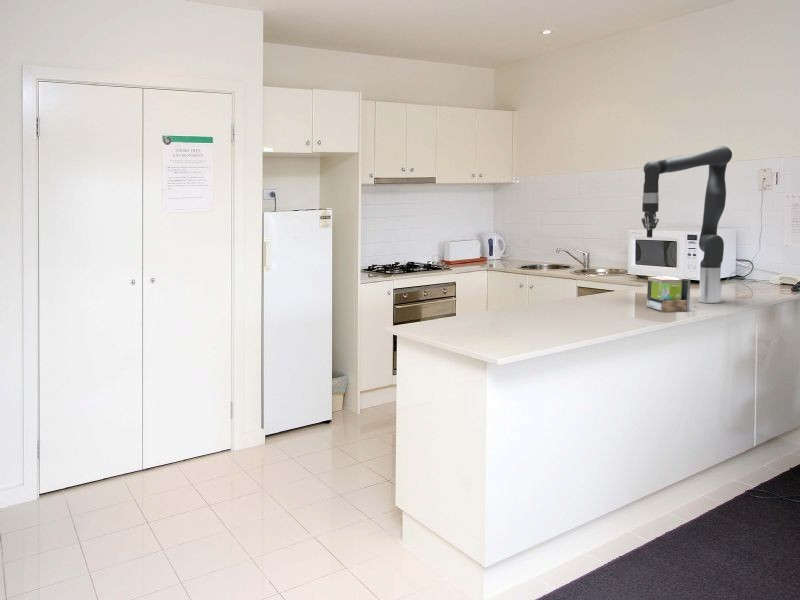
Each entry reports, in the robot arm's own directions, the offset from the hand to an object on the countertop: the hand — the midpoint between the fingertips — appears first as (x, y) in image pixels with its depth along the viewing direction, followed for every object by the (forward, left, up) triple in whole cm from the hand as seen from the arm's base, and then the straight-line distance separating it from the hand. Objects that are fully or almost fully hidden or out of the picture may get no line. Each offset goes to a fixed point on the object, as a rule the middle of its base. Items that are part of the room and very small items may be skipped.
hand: (649, 237), depth 347 cm
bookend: (-1, +28, -32) cm, 42 cm away
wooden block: (+5, +33, -32) cm, 46 cm away
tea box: (+5, +24, -32) cm, 41 cm away
